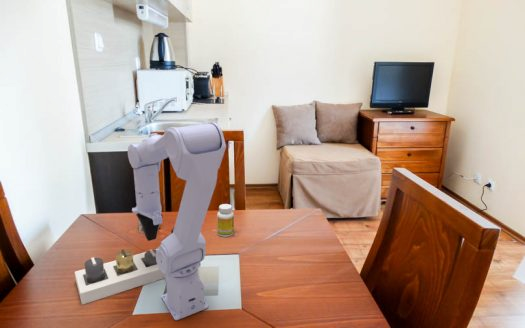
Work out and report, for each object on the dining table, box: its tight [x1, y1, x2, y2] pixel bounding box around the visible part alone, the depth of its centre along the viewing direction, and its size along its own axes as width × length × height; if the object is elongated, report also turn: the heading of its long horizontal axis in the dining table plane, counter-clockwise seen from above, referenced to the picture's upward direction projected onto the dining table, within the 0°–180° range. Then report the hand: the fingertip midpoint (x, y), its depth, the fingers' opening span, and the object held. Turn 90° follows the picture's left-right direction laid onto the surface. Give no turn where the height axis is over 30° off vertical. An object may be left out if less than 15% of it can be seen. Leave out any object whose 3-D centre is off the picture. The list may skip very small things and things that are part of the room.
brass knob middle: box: [114, 248, 134, 275], centre depth 89 cm, size 4×4×5 cm
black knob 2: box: [145, 248, 157, 267], centre depth 93 cm, size 4×4×5 cm
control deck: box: [74, 248, 166, 305], centre depth 90 cm, size 10×22×3 cm, turn 124°
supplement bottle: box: [216, 203, 235, 238], centre depth 113 cm, size 5×5×10 cm
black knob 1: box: [84, 256, 105, 285], centre depth 85 cm, size 4×4×5 cm
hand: (151, 238), depth 91 cm, fingers closed
